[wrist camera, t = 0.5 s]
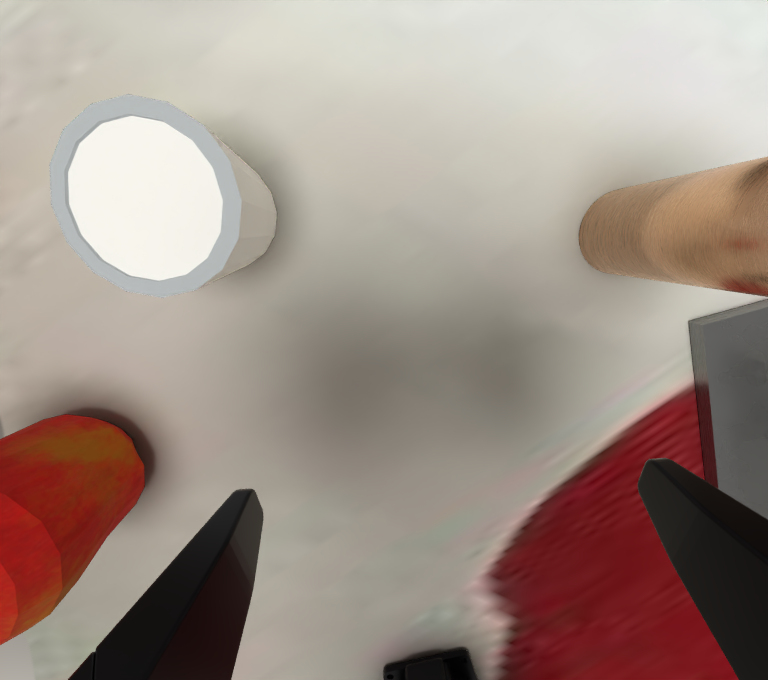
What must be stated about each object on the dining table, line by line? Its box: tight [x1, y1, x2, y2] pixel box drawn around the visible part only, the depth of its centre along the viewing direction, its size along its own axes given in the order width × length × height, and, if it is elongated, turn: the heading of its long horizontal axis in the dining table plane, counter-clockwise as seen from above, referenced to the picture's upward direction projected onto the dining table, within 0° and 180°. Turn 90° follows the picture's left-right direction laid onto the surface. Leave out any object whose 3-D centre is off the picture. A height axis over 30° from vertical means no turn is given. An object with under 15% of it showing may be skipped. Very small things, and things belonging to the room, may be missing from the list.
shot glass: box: [50, 94, 277, 298], centre depth 17 cm, size 7×7×7 cm
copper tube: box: [579, 157, 768, 297], centre depth 14 cm, size 4×4×14 cm
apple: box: [0, 414, 145, 645], centre depth 18 cm, size 9×8×12 cm
